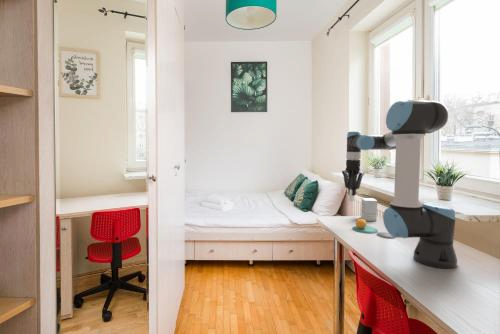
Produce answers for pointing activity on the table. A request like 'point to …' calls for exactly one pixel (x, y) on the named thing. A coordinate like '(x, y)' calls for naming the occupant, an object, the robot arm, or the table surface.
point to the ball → (361, 223)
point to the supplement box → (369, 209)
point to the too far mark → (385, 235)
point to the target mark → (365, 229)
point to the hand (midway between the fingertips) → (351, 200)
